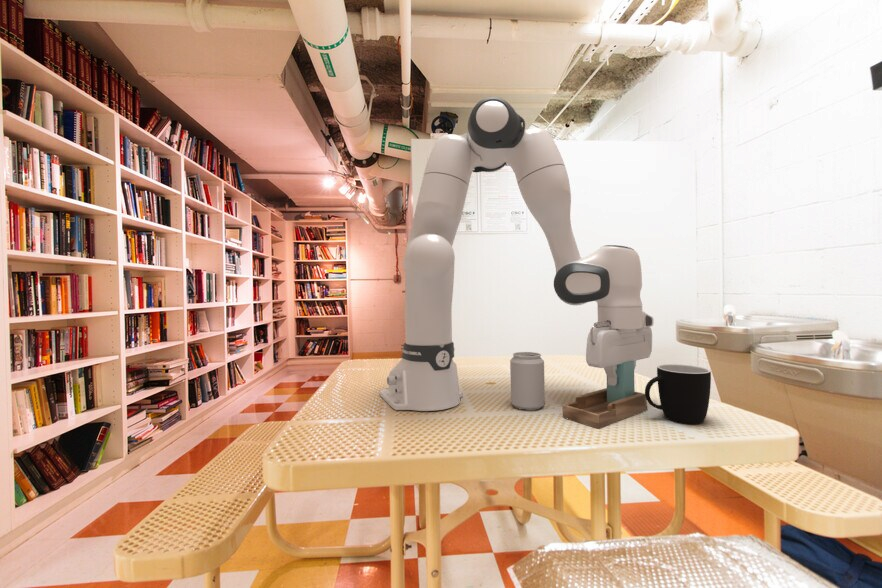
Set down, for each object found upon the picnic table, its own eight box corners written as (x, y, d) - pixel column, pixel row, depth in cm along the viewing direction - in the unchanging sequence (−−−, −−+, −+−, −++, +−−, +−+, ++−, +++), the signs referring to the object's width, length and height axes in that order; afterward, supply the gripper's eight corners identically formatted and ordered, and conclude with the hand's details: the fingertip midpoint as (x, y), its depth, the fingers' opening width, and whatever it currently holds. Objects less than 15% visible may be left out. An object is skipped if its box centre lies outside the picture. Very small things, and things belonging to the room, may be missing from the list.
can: (548, 411, 80) (547, 355, 80) (513, 411, 81) (513, 356, 80) (540, 401, 88) (539, 350, 88) (508, 401, 88) (507, 350, 88)
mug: (691, 411, 79) (690, 363, 79) (723, 426, 70) (722, 372, 70) (634, 412, 79) (633, 364, 79) (658, 427, 70) (658, 373, 70)
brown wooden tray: (562, 417, 76) (562, 400, 76) (612, 401, 87) (612, 386, 87) (598, 428, 70) (598, 410, 70) (647, 410, 80) (647, 393, 80)
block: (624, 405, 79) (623, 363, 79) (607, 401, 82) (606, 360, 82) (634, 402, 81) (634, 360, 81) (617, 398, 84) (616, 358, 84)
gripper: (605, 323, 73) (606, 394, 73) (657, 317, 84) (658, 378, 84) (577, 321, 78) (578, 387, 78) (630, 316, 90) (630, 374, 90)
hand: (620, 383), depth 81 cm, fingers closed on block, 4 cm apart
